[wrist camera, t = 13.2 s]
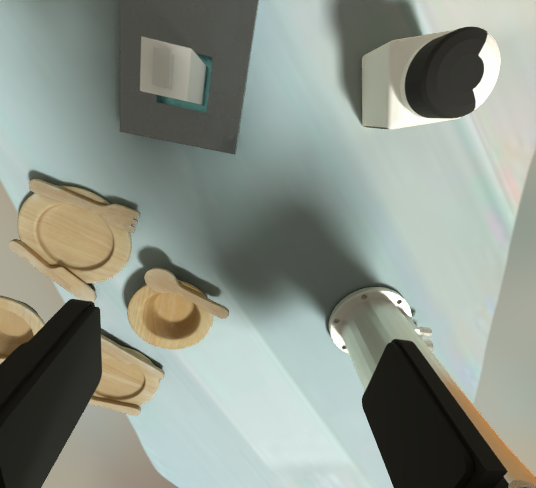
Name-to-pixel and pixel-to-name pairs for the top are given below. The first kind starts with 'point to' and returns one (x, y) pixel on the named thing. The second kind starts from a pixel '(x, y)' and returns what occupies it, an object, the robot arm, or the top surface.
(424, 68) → the medicine bottle
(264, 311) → the top surface
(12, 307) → the tableware set
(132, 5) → the panel
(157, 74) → the plug
